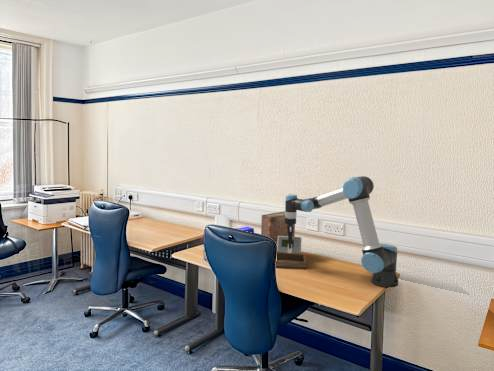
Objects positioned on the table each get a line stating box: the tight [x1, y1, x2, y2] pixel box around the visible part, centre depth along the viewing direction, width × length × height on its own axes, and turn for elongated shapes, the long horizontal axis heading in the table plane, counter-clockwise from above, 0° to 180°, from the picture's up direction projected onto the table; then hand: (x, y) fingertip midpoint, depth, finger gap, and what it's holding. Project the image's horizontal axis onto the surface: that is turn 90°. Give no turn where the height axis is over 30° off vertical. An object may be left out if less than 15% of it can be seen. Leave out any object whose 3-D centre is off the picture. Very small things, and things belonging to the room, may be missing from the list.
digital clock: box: [277, 236, 302, 255], centre depth 253 cm, size 16×9×11 cm, turn 67°
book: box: [260, 210, 296, 254], centre depth 273 cm, size 25×9×30 cm, turn 131°
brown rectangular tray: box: [275, 253, 307, 270], centre depth 255 cm, size 17×21×4 cm
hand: (289, 251), depth 254 cm, fingers closed on digital clock, 7 cm apart
